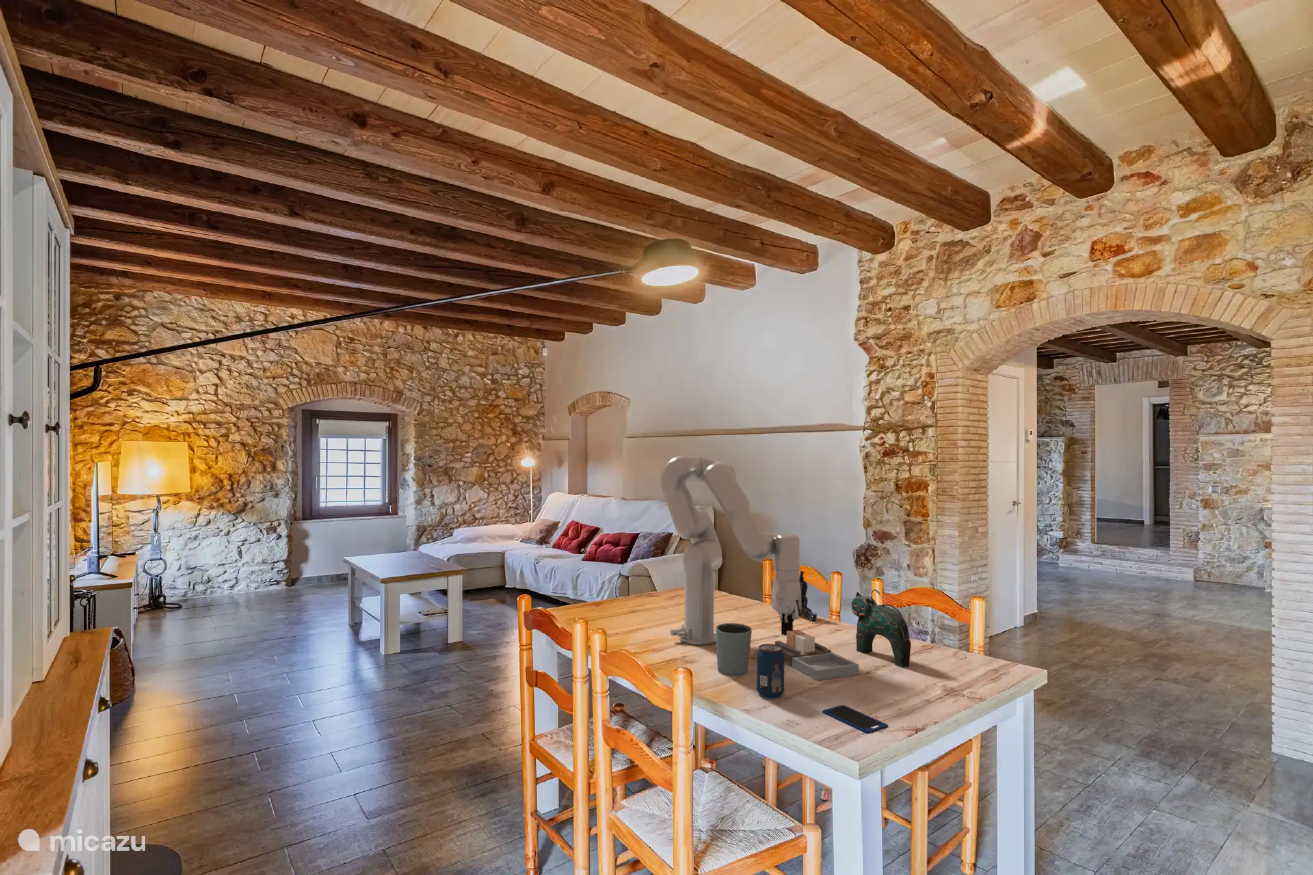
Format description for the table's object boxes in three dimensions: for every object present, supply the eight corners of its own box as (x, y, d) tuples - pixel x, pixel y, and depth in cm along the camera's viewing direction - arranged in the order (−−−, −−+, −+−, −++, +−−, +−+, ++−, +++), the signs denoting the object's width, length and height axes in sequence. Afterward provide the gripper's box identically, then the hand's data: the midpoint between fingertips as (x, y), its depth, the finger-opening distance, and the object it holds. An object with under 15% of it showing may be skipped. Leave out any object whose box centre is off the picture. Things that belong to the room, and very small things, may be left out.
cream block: (803, 652, 192) (803, 638, 192) (795, 648, 196) (795, 635, 196) (814, 651, 193) (814, 637, 193) (806, 647, 197) (806, 633, 197)
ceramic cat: (849, 649, 205) (849, 585, 205) (865, 646, 208) (865, 583, 208) (900, 669, 187) (900, 598, 187) (916, 665, 190) (916, 596, 190)
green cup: (730, 662, 192) (731, 620, 192) (759, 670, 185) (759, 628, 185) (707, 670, 185) (708, 627, 185) (736, 679, 178) (736, 635, 178)
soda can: (765, 687, 172) (765, 641, 173) (789, 693, 168) (789, 646, 168) (751, 695, 167) (751, 647, 167) (775, 702, 163) (775, 653, 163)
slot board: (791, 666, 189) (791, 652, 189) (770, 655, 199) (770, 641, 199) (831, 660, 194) (831, 646, 194) (809, 649, 204) (809, 636, 204)
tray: (816, 680, 178) (816, 670, 178) (792, 667, 188) (792, 657, 188) (858, 673, 183) (858, 664, 183) (832, 661, 194) (832, 652, 194)
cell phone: (867, 735, 145) (867, 732, 145) (820, 713, 157) (820, 710, 157) (889, 728, 149) (889, 724, 149) (842, 707, 161) (842, 704, 161)
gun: (817, 585, 233) (793, 567, 247) (809, 628, 237) (786, 608, 251) (823, 584, 235) (799, 566, 248) (815, 627, 238) (791, 607, 252)
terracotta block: (794, 648, 196) (794, 634, 196) (786, 644, 200) (786, 631, 200) (805, 646, 198) (805, 633, 198) (797, 642, 201) (797, 629, 201)
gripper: (763, 571, 209) (763, 629, 209) (790, 580, 195) (790, 642, 195) (783, 569, 212) (783, 627, 212) (811, 578, 198) (811, 639, 198)
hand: (787, 634), depth 203 cm, fingers closed
